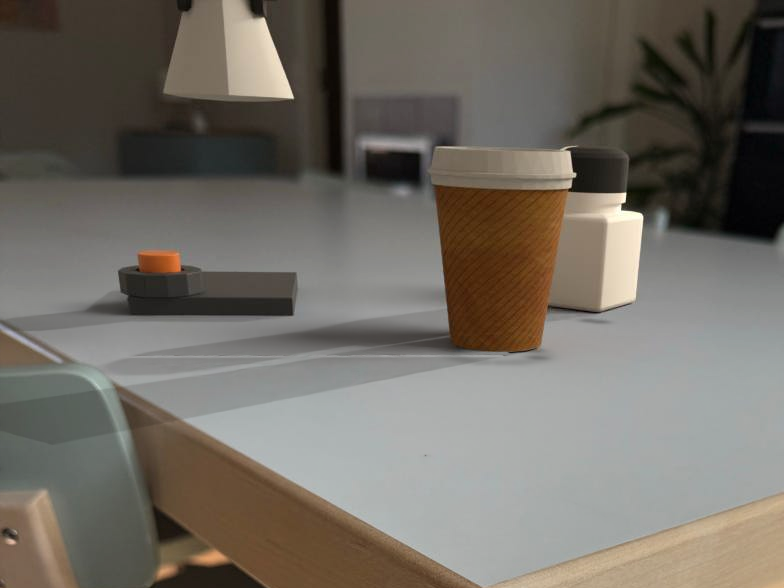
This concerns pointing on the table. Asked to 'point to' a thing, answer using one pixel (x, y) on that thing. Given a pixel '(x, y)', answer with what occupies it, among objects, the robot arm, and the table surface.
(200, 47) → the flask
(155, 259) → the button
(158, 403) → the table surface
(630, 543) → the table surface
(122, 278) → the scale
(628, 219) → the medicine bottle
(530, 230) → the disposable coffee cup
